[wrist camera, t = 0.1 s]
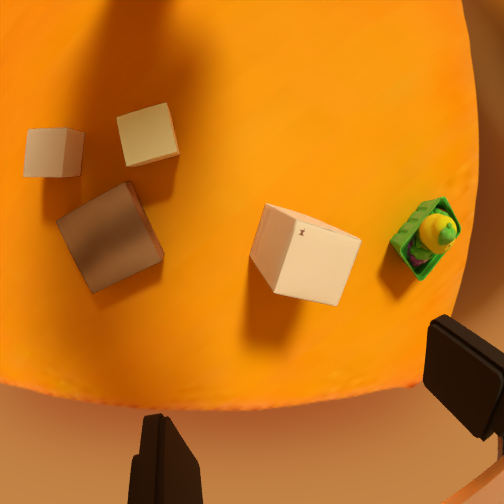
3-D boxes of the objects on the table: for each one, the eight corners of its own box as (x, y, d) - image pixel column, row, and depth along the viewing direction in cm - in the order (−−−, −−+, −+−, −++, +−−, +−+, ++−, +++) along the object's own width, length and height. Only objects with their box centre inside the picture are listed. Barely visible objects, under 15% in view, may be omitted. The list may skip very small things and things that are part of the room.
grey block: (49, 133, 31) (28, 129, 26) (85, 133, 32) (67, 127, 27) (45, 175, 33) (23, 177, 27) (80, 175, 34) (61, 177, 28)
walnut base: (67, 216, 35) (55, 221, 31) (131, 180, 35) (124, 182, 32) (101, 282, 38) (92, 293, 34) (164, 252, 38) (161, 261, 35)
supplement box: (247, 256, 40) (270, 294, 28) (265, 201, 39) (296, 216, 27) (298, 270, 42) (337, 308, 30) (316, 218, 41) (364, 239, 29)
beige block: (127, 125, 33) (116, 117, 28) (170, 112, 34) (166, 102, 28) (137, 166, 35) (126, 166, 29) (180, 154, 35) (176, 151, 30)
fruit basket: (402, 273, 46) (448, 299, 35) (375, 236, 43) (423, 256, 32) (442, 223, 45) (490, 239, 34) (419, 184, 42) (470, 192, 31)
